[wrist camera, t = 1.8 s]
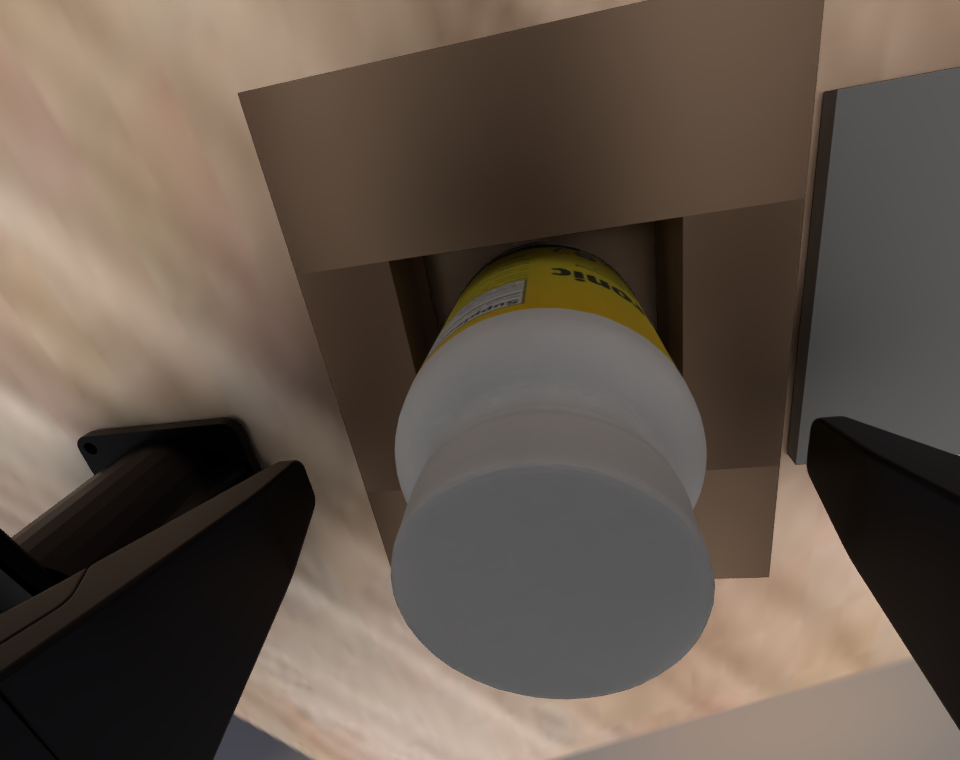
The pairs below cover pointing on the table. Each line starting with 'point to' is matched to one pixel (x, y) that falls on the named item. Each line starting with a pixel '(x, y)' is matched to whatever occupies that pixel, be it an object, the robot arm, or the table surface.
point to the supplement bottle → (551, 485)
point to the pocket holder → (565, 210)
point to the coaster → (884, 264)
